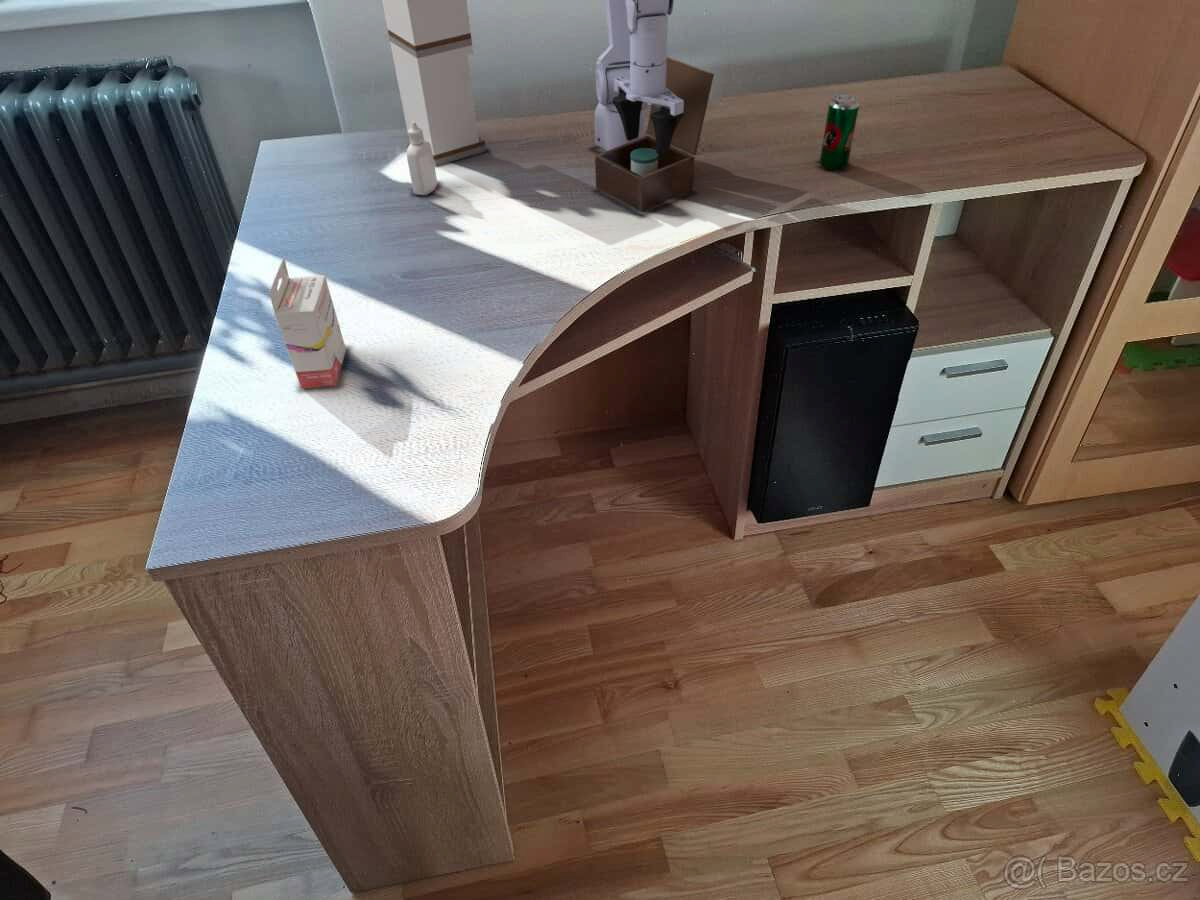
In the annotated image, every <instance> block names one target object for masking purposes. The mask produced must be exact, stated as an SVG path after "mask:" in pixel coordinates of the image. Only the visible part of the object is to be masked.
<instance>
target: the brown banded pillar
mask: <svg viewBox="0 0 1200 900" xmlns="http://www.w3.org/2000/svg"><path fill="white" fill-rule="evenodd" d="M381 3H382V7H383V8H382V9H383V13H384V18H385V23H386V29H387V34H388V38H389V43H390V49H391V55H392V61H393V64H394V70H395V74H396V79H397V85H398V90H399V96H400V100H401V105H402V111H403V116H404V120H405V126H406V129H407V130H406V131H407V133H408V130H409V129H411V122H413V121H415V122H416V124H417V127H418V128H421V129H422V131H423V137H424V140H425V141H428V142H429V143H430V145H431V149H432V155H433V160H434V166H435V167H439V166H441V165H444V164H448V163H452V162H454V161H458V160H462V159H464V158H467V157H471V156H475V155H478V154H482V153H484V152H487V149H486V141H485V139H483V138H481V137H480V136H479V130H478V123H477V116H476V108H475V101H474V93H473V86H472V79H471V78H472V77H471V71H470V63H469V56H468V55H474V48H473V40H472V31H471V24H470V16H469V10H468V2H467V0H381ZM407 137H408V138H409V135H408V134H407ZM408 140H409V139H408ZM409 143H410V140H409Z"/></svg>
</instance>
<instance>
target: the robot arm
mask: <svg viewBox="0 0 1200 900" xmlns="http://www.w3.org/2000/svg"><path fill="white" fill-rule="evenodd" d="M674 2H675V0H604V3H605V4H604V5H605V13H606V14H605V15H606V25H607V35H608V47H607V48H606V50H604V51H603V53H601V54H600V55H599V57H598V58H597V59H596V63H595V89H596V97H597V101H598V104H597V106H596V107H595V111H594V117H593V118H594V119H593V120H594V145H595V146H597V147H599V148H601V149H603V150H604V151H605V152H606V151H608V150H611V149H614V148H616V147H619V146H621V145H624V144H627V143H629V142H632V141H634V140H637V139H640V138H642V137H645V136H646V135H645V134H646V132H645V131H646V129H645V128H646V108H648V105H649V104H650V105H655V106H657V107H660V111H657V112H654V113H652V114H650V113H649V116H650V117H651V119H652V122H653V125H654V129H655V137H656V138H655V137H654V138H655V139H656V152H657V154H658V155H662V154H664V153H667V152H668V151H669V148H670V146H671V141H672V137H673V134H674V132H675V129H676V127H677V125H678V123H679V122H680V120H681V118H682V117H683V115H684V109H683V108H684V100H682V99H680V98H678V97H677V96H676V95H674V94H673V93H672V92H671V91H670V90H669V89H668V88H666V64H667V57H668V30H669V29H668V25H669V24H668V23H669V16H671V15H672V14H673V10H674ZM667 15H668V16H667ZM628 64H629V65H628ZM620 65H622V66H620ZM609 66H612V67H609Z"/></svg>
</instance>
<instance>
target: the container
mask: <svg viewBox="0 0 1200 900" xmlns="http://www.w3.org/2000/svg"><path fill="white" fill-rule="evenodd" d="M630 158H631V171H632V172H634V173H636V174H638V175H640V176H644V175H646V174H649V173H651V172H654V171H656V170H658V158H659V155H658V154H657V152H656V150H654V149H650V148H640V149H636V150H634V151H632V152H631V154H630Z"/></svg>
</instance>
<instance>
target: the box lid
mask: <svg viewBox="0 0 1200 900" xmlns="http://www.w3.org/2000/svg"><path fill="white" fill-rule="evenodd" d="M714 76H715V73H714V72H710V71H708V70H705V69H704V68H703V69H702V68H700V67H697V66H694V65H692V64H689V63H687V62H684V61H681V60H678V59H675V58H672V57H669V56H667V64H666V88H668V89H669V90H670V91H671V92H672V93H673V94H674V95H676V96H677V97H678V98H680V99H682V100H684V108H683V109H684V115H683V117H682V118H681V120H680V122H679V123H678V125H677V127H676V129H675V132H674V134H673V137H672V141H671V144H670V146H672V147H674V148H676V149H679V150H681V151H683V152H685V153H687V154H690V155H692V156H696V155H697V152H698V148H699V143H700V139H701V134H702V129H703V127H704V121H705V116H706V112H707V108H708V103H709V97H710V94H711V90H712V85H713V80H714ZM650 106H651V107H650V112H649V117H648V120H647V121H648V122H647V127H646V132H645V134H646V135H648V136H650V137H652V138H654V139H656V137H655V129H654V125H653V122H652V119H651V117H650V114H652V113H654V112H657V111H660V107H657V106H655V105H652V104H650Z"/></svg>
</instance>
